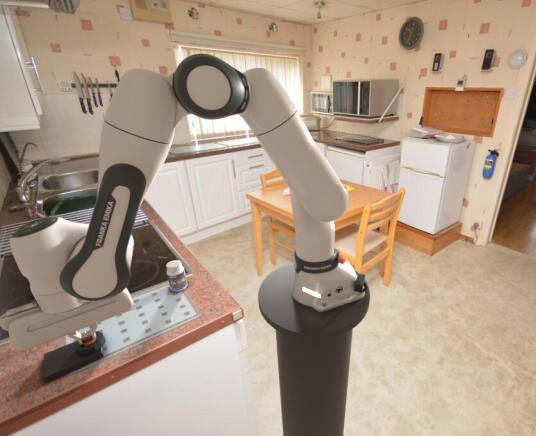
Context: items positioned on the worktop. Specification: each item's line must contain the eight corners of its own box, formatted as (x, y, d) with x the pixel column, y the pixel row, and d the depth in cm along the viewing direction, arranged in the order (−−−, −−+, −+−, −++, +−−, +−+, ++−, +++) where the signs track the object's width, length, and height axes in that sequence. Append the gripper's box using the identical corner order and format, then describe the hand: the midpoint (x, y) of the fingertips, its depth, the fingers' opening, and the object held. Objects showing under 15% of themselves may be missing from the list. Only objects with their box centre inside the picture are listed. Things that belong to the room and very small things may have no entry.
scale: (105, 333, 72) (101, 325, 70) (109, 354, 67) (105, 345, 65) (46, 358, 65) (41, 348, 64) (45, 382, 60) (39, 373, 59)
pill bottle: (172, 294, 85) (166, 270, 82) (169, 285, 89) (163, 262, 85) (189, 288, 88) (184, 265, 84) (185, 279, 91) (180, 257, 88)
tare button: (97, 338, 68) (94, 333, 68) (98, 345, 67) (95, 340, 66) (84, 343, 67) (81, 339, 66) (84, 350, 65) (82, 346, 65)
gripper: (-9, 325, 52) (24, 376, 58) (125, 281, 64) (141, 327, 70) (-4, 305, 56) (26, 354, 62) (121, 267, 68) (136, 311, 74)
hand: (88, 339), depth 66 cm, fingers closed, pressing on tare button
